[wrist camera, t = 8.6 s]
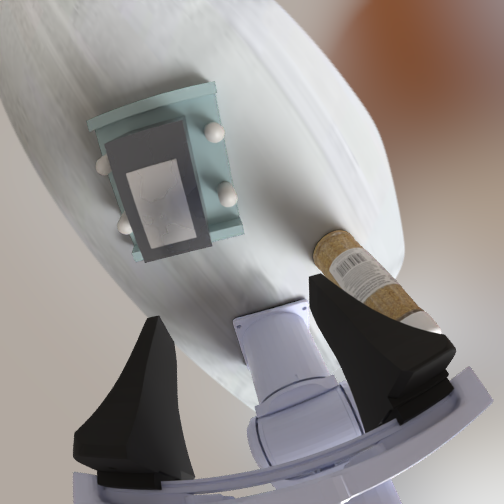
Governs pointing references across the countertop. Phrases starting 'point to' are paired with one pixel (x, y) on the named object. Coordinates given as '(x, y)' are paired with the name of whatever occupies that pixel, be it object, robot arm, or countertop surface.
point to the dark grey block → (160, 189)
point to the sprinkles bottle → (368, 280)
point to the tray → (203, 145)
